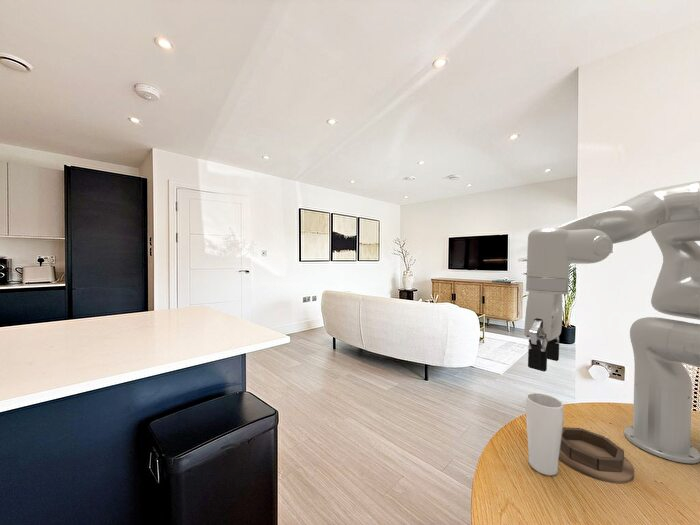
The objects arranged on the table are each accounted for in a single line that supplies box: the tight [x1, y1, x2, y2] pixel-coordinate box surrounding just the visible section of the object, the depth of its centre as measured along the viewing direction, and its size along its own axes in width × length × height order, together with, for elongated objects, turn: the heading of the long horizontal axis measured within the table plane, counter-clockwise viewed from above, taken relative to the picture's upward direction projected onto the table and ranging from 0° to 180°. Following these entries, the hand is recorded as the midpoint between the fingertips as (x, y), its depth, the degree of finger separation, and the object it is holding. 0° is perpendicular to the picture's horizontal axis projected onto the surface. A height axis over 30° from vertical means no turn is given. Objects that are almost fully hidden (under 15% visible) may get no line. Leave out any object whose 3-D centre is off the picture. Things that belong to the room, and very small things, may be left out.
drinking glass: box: [525, 392, 565, 476], centre depth 61 cm, size 7×7×15 cm
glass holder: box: [559, 426, 635, 484], centre depth 65 cm, size 15×15×4 cm
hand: (543, 364), depth 61 cm, fingers open, 9 cm apart
